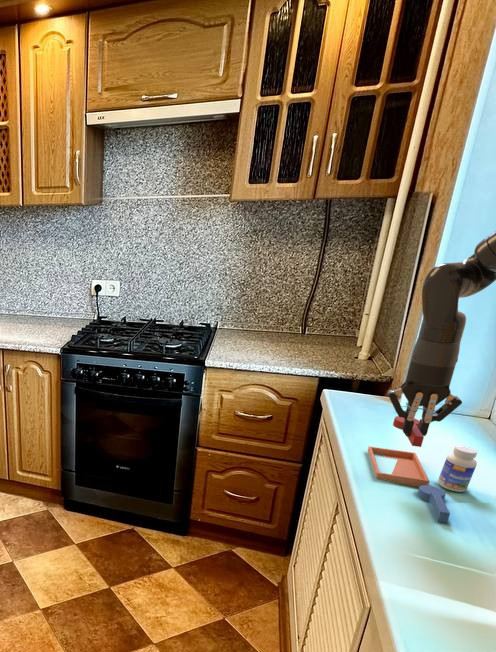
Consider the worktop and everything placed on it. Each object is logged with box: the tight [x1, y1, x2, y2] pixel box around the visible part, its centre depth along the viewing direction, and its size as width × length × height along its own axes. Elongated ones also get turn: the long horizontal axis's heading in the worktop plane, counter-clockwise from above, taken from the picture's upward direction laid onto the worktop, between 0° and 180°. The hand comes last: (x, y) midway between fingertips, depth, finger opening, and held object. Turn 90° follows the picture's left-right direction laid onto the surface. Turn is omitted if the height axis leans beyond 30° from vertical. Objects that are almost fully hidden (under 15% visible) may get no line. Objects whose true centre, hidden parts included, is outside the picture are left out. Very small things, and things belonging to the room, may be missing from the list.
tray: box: [367, 445, 430, 488], centre depth 130 cm, size 16×10×2 cm, turn 154°
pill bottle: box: [437, 444, 478, 493], centre depth 121 cm, size 5×5×10 cm
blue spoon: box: [417, 484, 451, 524], centre depth 114 cm, size 13×5×2 cm, turn 154°
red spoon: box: [392, 415, 425, 448], centre depth 118 cm, size 13×5×2 cm, turn 156°
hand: (412, 435), depth 116 cm, fingers closed on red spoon, 1 cm apart
